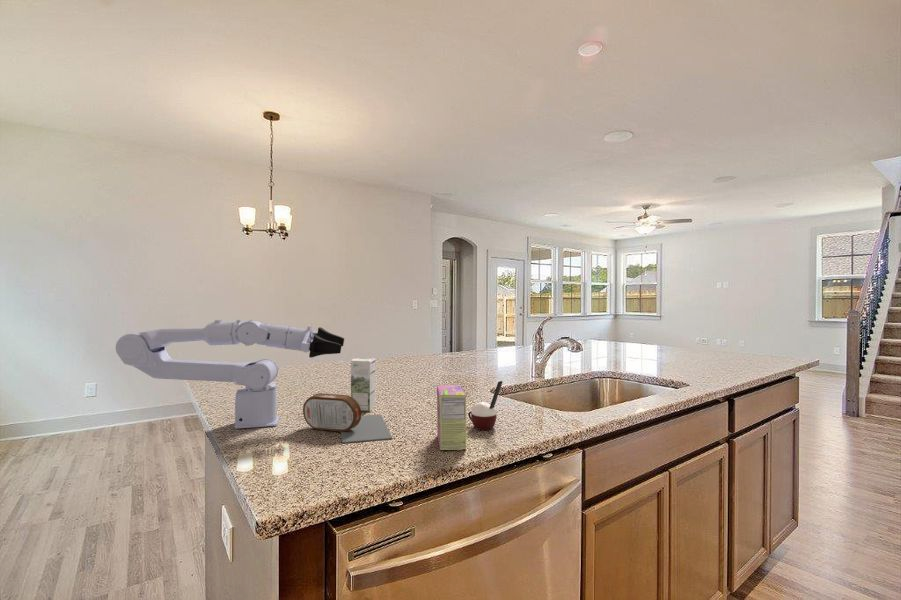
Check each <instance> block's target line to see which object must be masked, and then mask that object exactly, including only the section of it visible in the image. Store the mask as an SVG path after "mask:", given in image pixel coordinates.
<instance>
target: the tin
mask: <svg viewBox="0 0 901 600" xmlns="http://www.w3.org/2000/svg"><path fill="white" fill-rule="evenodd" d="M302 413H303V418H304V420H305V422H306V424H307V425H308V426H310V427H311V428H312V429H314V430H319V431H320V430H322V431H333V432H340V433H341V432H345V431H349V430H350V429H352V428H354V427H356V426H357V425H358V424H359V422H360V420H361V416H362V411H361V409H360V406H359V404H358V402H357V401H356V400H355V399H354V398H352V397H351V395H347V394H337V393H335V394H334V393H325V392H324V393H321V392H319V393H315V394H313V395H312V396H310V397H309V398H307V399H306V400H305V401H304V403H303V406H302Z"/></svg>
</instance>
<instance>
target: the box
mask: <svg viewBox="0 0 901 600" xmlns="http://www.w3.org/2000/svg"><path fill="white" fill-rule="evenodd" d="M436 406H437V407H436V408H437V409H436V411H437V414H436V416H437V419H436V421H437V440H438V441H437V442H438V445H439V446H438V447H439V451H440V450H457V451H463V450H462V449H466V450H467V394H466V393H465V390H464V389H463V387H462V385H460V384H452V385H451V384H450V385H449V384H448V385H447V384H446V385H445V384H444V385H443V384H442V385H437V386H436Z"/></svg>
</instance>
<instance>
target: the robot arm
mask: <svg viewBox="0 0 901 600" xmlns="http://www.w3.org/2000/svg"><path fill="white" fill-rule="evenodd" d="M197 341H199V342H200V341H201V342H202V341H203V342H205V343H207V344H208V345H209V346H229V345H230V346H231V345H239V344H243V345H244V346H246V347H247V346H248V347H249V346H253V345H255V344H256V345H258V346H259V345H260V346H261V345H262V346H266V347H268V348H269V347H270V348H276V349H277V348H278V349H284V350H289V351H290V350H292V351H300V352H303V353H309V354H308V356H309V358H311V359H312V358H315V357H318V356H323V355H335V354H336V355H337V354H341V352H342V351H341V350H342V347H343V346H344V343H345V338H344V337H342V336H339V335H336V334H334V333H331V332H329V331H328V330H326V329H324V328H323V327H318V329H317V331H314V330H312V324H308V325H307V328H302V327H301V328H300V327H295V326H287V325H282V324H280V325H279V324H272V323H271V324H269V323H267V322H266V323H262V322H261V321H258V320H253V319H249V320H248V321H245V322H243V319H236V321H223V320H222V319H214V321H213V322H209V323H208V324H207V325H206V326H205V327H165V328H158V329H154V330H146V331H141V332H138V333H127V334H124V335H122V336H121V337H120V338H119V339H118V340H117V341H116V343H115V352H116V354H117V356H118V358H120V361H122V363H123V364H124V365H127V366H131V367H133V368H135V369H137V370H139V371H141V372H142V373H145V374H146V375H147V376H149V377H151V378H153V379H159V380H160V379H161V380H176V381H177V380H179V381H181V380H182V381H200V382H220V383H221V382H222V383H225V382H226V383H234V384H235V385H237V386H245V388H239V389H237V390H236V392H235V397H234V401H235V402H234V429H235V430H237V429H245V428H246V429H249V428H252V429H253V428H261V427H263V428H264V427H274V426H275V427H276V426H277V425H278V422H279V419H280V415H277V411H278V409H277V408H278V407H277V397H278V396H277V394H278V393H277V389H278V388H277V384H276V382H275V379H276V378H277V376H278V373H279V369H278V365H277V363H276V362H275V361H273V360H272V359H269V358H262V359H260V360H257V361H243V362H235V361H233V362H232V361H217V360H216V361H213V360H200V359H198V360H197V359H181V358H177V359H176V358H172V357H171V356H170V355H169V354H168V351H167V348H166V347H168V346H169V345H171V344H172V343H184V342H197Z"/></svg>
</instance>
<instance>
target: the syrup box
mask: <svg viewBox="0 0 901 600" xmlns="http://www.w3.org/2000/svg"><path fill="white" fill-rule="evenodd" d="M350 396H351V397H352V398H354V399H355V400H356V401H357V402H358V404H359V406H360V409H361V412H372V410H373V409H374V408H375V407H376V358H375V357H354V358H352V359H351V360H350Z"/></svg>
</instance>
